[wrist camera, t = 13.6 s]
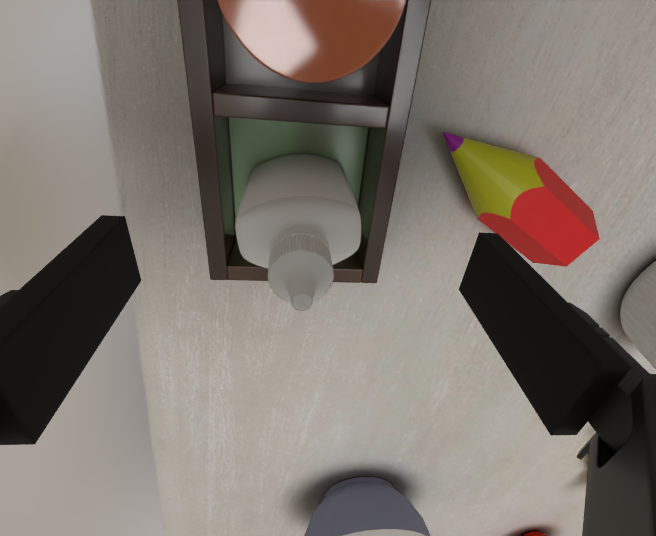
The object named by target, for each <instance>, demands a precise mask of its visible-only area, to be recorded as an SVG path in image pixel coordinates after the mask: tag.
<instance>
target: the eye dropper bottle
mask: <svg viewBox="0 0 656 536" xmlns="http://www.w3.org/2000/svg"><path fill="white" fill-rule="evenodd" d="M235 230H236V237H237V242H238V246H239V250H240V253H241V255H242V256H243V258H244V259H246V260H247V261H249V262H250V263H253V264H255V265H258V266H261V267H264V268H267V269H268V282H269V285H270V287H271V289H272V290H273V292H274V293H275V294H276V295H277V296H279V297H280V298H282V299H283V300H285V301H288V302H291V304H292V306H293V307H294V308H295V309H296V310H300V311H304V310H307V309H309V308H310V307H311V306H312V303H313V301H315V300H317V299H320V298H321V297H322V296H324V295H325V294H326V293H327V292H328V291H329V289H330V288H331V286H332V283H333V280H334V279H333V278H334V270H333V265H334V264H336V263H338V262H340V261H342V260H344V259H346V258H348V257H349V256H351V255H353V254H354V253H355V252H356V251H357V250H358V248H359V245H360V241H361V217H360V213H359V210H358V207H357V204H356V201H355V198H354V196H353V193H352V190H351V188H350V185H349V183H348V180H347V177H346V175H345V172H344V170H343V167H342V166H341V165H340V164H339V163H338V162H336V161H334V160H331V159H328V158H325V157H321V156H316V155H310V154H291V155H285V156H280V157H276V158H273V159H270V160H268V161H265V162H263V163H261V164H259V165H258V166H256V167H254V168H253V170H252V171H251V172H250V175H249V178H248V181H247V184H246V187H245V190H244V193H243V197H242V200H241V203H240V206H239V210H238V214H237V217H236V223H235Z"/></svg>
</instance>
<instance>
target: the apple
mask: <svg viewBox="0 0 656 536" xmlns="http://www.w3.org/2000/svg"><path fill="white" fill-rule="evenodd" d="M523 536H546V535H545V534H543V533H541V532H538V531H532V532H529V533H527V534H525V535H523Z"/></svg>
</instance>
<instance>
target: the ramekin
mask: <svg viewBox="0 0 656 536" xmlns="http://www.w3.org/2000/svg"><path fill="white" fill-rule="evenodd" d="M620 312H621V313H620V318H621V325H622V327H623V330H624V332H625V333H626V335H627V336H628V338H629V339H630V340H631V342H632V343H633V344H634V345H635V346H636V348H637V349H638V350H639V351H640V353H641V354H642V355H643V356H644V357H645V358H646V359H647V360H648V361H649V363H650V364H651V365H652V366H653V367H654V368H655V369H656V261H654V262H653V263H652V264H651V265H649V266H648V267H647V268H646V269H645V270H644V271H643V272H641V273H640V274H639V276H638V277H637V278H636V279H635V280H634V281H633V283H632V284H631V285H630V287H629V288H628V290H627V291H626V293H625V295H624V298H623V300H622V304H621V309H620Z"/></svg>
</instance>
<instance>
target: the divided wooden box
mask: <svg viewBox="0 0 656 536" xmlns="http://www.w3.org/2000/svg"><path fill="white" fill-rule="evenodd" d="M430 4H431V0H407V1H406V4H405V7H404V10H403V13H402V15H401V17H400V20H399V22H398V24H397V26H396V28H395V30H394V31H393V33H392V35H391V37H390V38H389V40H388V41H387V42H386V44H385V45H384V46H383V48H382V49H381V50H380V51H379V52H378V53H377V54H376V56H375V57H374V58H373V59H372V60H370V61H369V62H368V63H367V64H366V65H364V66H363V67H362V68H360V69H358V70H357V71H355V72H354V73H352V74H350V75H348V76H345V77H343V78H341V79H337V80H334V81H330V82H323V83H306V82H299V81H295V80H291V79H288V78H285V77H283V76H281V75H278V74H276V73H274V72H272V71H271V70H269V69H268V68H266V67H265V66H263V65H262V64H261V63H259V62H258V61H257V60H256V59H255V58H254V57H252V56H251V55H250V53H249V52H248V51H247V50H246V49H245V48H244V47H243V46H242V45H241V43H240V42H239V41H238V39H237V38H236V37H235V35H234V34H233V32H232V30H231V29H230V27H229V25H228V24H227V22H226V20H225V18H224V16H223V13H222V11H221V9H220V7H219V4H218V1H217V0H178V9H179V17H180V26H181V34H182V43H183V51H184V60H185V68H186V77H187V85H188V93H189V102H190V110H191V119H192V127H193V136H194V144H195V153H196V161H197V170H198V178H199V187H200V195H201V204H202V212H203V221H204V229H205V238H206V246H207V255H208V263H209V271H210V279H211V280H256V281H268V269H267V268H264V267H261V266H258V265H255V264H253V263H250V262H249V261H247V260H246V259H244V258H243V256H242V255H241V253H240V250H239V246H238V242H237V237H236V230H235V223H236V217H237V214H238V210H239V206H240V203H241V200H242V197H243V193H244V190H245V187H246V184H247V181H248V178H249V175H250V172H251V171H252V170H253V168H254V167H256V166H258V165H259V164H261V163H263V162H265V161H268V160H270V159H273V158H276V157H280V156H285V155H291V154H310V155H316V156H321V157H325V158H328V159H331V160H334V161H336V162H338V163H339V164H340V165H341V166H342V167H343V170H344V172H345V175H346V177H347V180H348V183H349V185H350V188H351V190H352V193H353V196H354V198H355V201H356V204H357V207H358V210H359V213H360V217H361V241H360V245H359V248H358V250H357V251H356V252H355V253H354V254H353V255H351V256H349V257H348V258H346V259H344V260H342V261H340V262H338V263H336V264H334V265H333V270H334V278H333V279H334V280H333V282H355V283H360V282H362V283H377V279H378V274H379V268H380V263H381V258H382V253H383V248H384V242H385V237H386V232H387V227H388V222H389V217H390V211H391V206H392V201H393V196H394V191H395V185H396V180H397V175H398V170H399V165H400V159H401V154H402V149H403V144H404V139H405V134H406V128H407V123H408V118H409V113H410V108H411V102H412V97H413V92H414V87H415V82H416V76H417V71H418V66H419V61H420V56H421V51H422V45H423V40H424V35H425V30H426V25H427V19H428V14H429V9H430Z"/></svg>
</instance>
